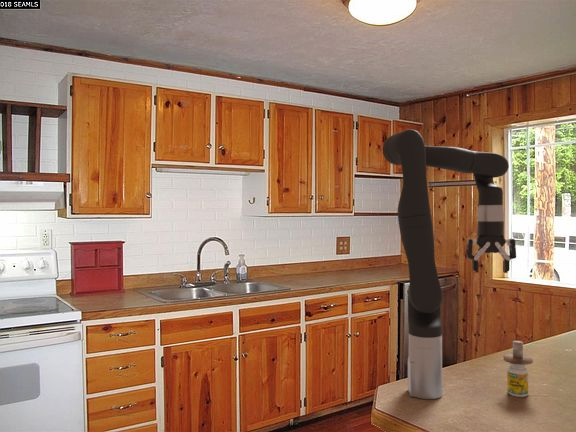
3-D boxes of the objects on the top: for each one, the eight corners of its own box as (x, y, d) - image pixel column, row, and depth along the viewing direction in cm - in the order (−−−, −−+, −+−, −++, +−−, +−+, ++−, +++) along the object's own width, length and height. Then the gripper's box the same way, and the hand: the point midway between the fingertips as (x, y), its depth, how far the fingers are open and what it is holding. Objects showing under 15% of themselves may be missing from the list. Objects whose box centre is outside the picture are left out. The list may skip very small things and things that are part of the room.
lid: (508, 364, 141) (508, 345, 141) (499, 356, 148) (499, 338, 148) (537, 364, 140) (537, 345, 140) (526, 356, 148) (526, 338, 148)
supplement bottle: (528, 392, 146) (528, 359, 145) (527, 398, 141) (527, 364, 141) (508, 389, 148) (508, 356, 148) (506, 395, 143) (506, 361, 143)
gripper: (469, 220, 153) (469, 274, 153) (519, 220, 151) (519, 274, 152) (463, 219, 161) (464, 271, 161) (510, 219, 159) (511, 271, 159)
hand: (490, 272), depth 156 cm, fingers open, 8 cm apart
